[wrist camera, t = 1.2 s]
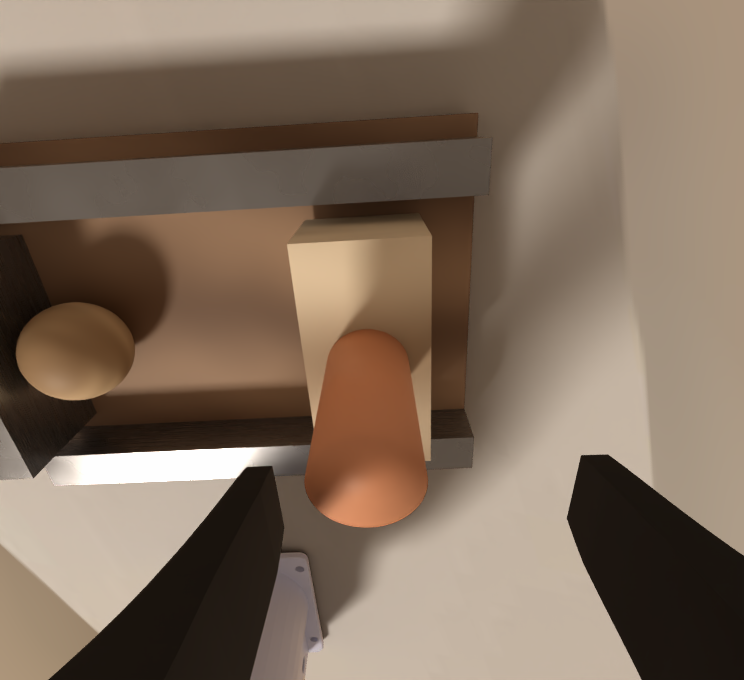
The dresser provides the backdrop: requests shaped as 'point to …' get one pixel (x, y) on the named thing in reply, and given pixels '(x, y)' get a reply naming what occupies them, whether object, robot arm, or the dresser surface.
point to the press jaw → (366, 362)
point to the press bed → (206, 290)
